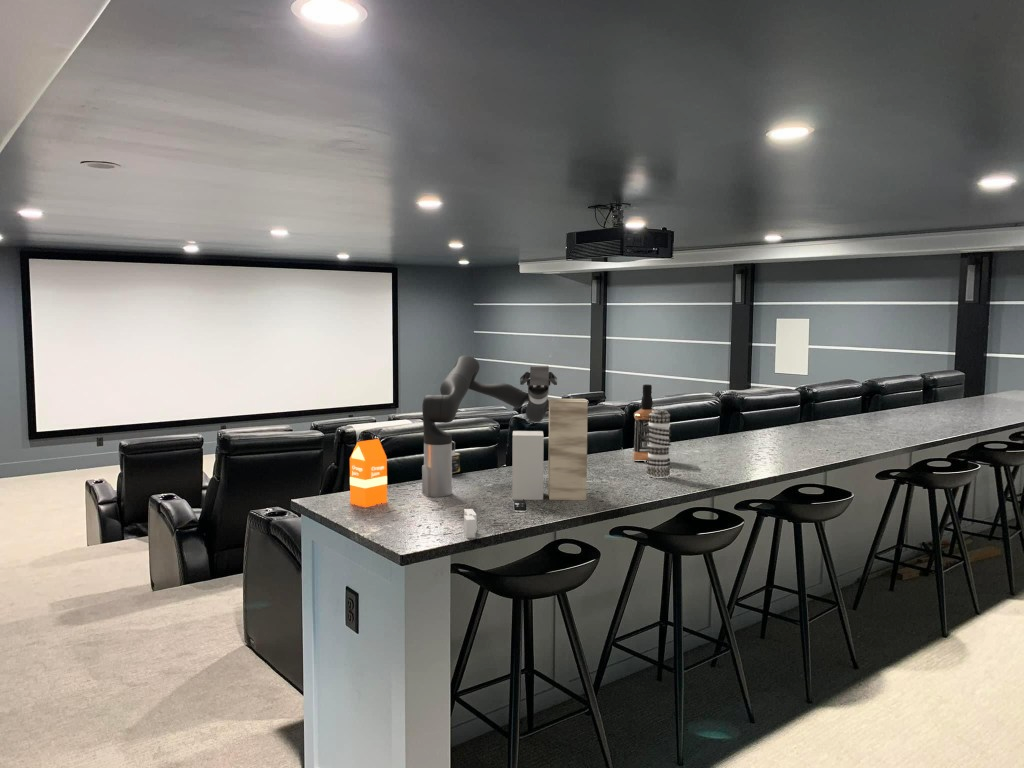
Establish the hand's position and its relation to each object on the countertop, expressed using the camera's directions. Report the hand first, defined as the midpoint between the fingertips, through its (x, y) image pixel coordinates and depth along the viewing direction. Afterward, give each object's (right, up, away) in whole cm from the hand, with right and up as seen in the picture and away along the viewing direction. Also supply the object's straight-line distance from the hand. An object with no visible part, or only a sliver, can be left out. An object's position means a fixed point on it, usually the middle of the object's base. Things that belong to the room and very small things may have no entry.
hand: (539, 369), depth 252 cm
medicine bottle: (-34, -39, +29) cm, 60 cm away
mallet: (0, -5, -5) cm, 7 cm away
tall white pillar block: (-4, -42, -10) cm, 44 cm away
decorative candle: (+46, -40, +23) cm, 65 cm away
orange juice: (-55, -43, -20) cm, 72 cm away
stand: (+9, -42, -10) cm, 44 cm away
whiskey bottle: (+47, -37, +56) cm, 82 cm away
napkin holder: (-21, -46, -52) cm, 73 cm away
